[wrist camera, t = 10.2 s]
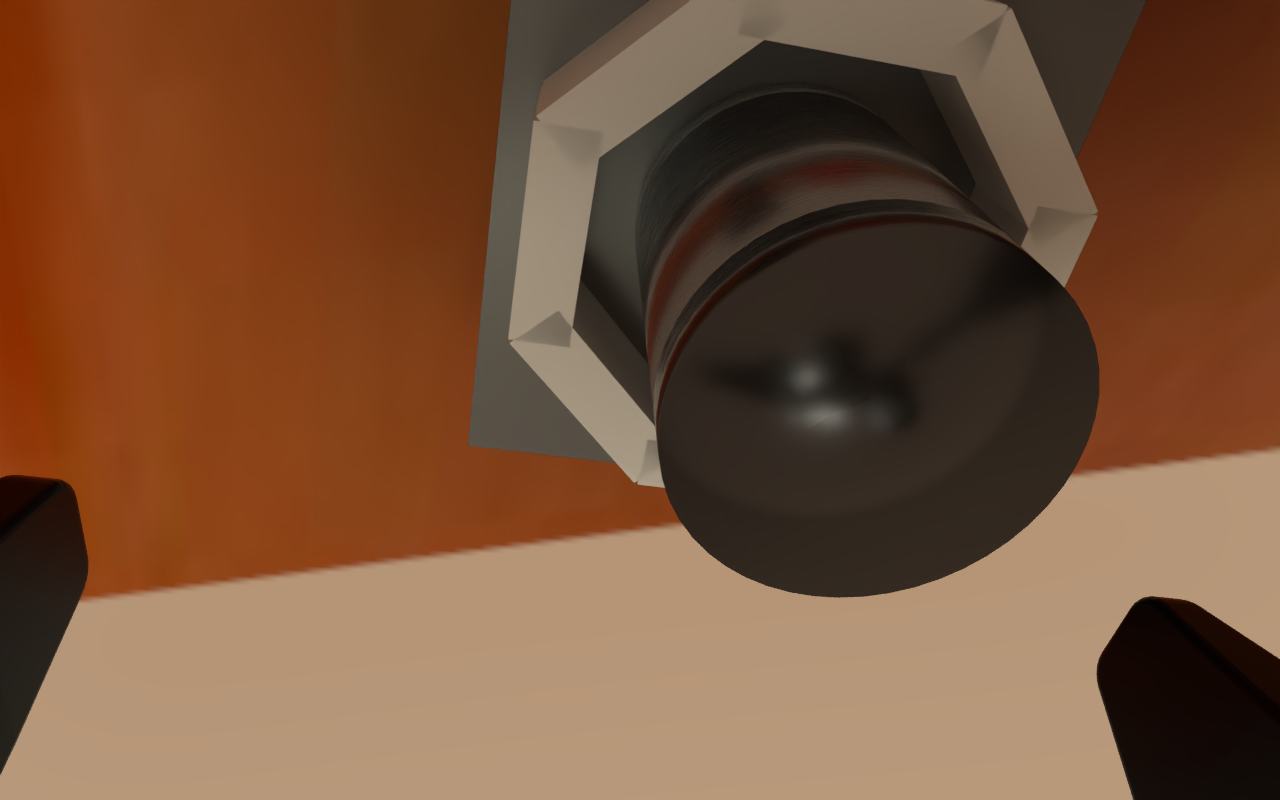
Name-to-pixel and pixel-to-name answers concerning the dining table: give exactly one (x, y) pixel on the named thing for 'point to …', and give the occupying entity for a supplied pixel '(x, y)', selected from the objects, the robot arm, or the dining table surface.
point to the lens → (847, 350)
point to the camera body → (697, 77)
